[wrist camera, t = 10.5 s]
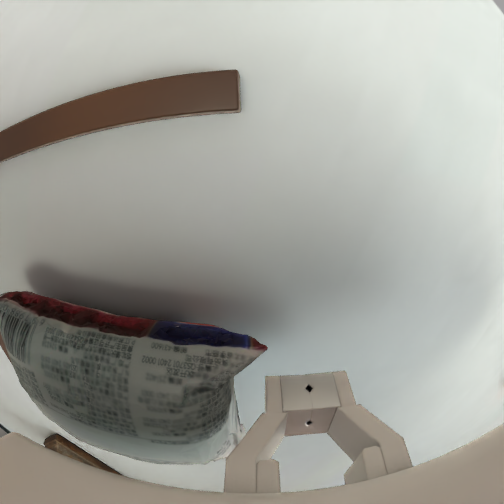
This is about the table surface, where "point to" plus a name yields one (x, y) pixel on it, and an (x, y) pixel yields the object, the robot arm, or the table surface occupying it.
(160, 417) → the packaged food
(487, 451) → the robot arm
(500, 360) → the table surface
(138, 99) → the bay
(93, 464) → the clothes iron
